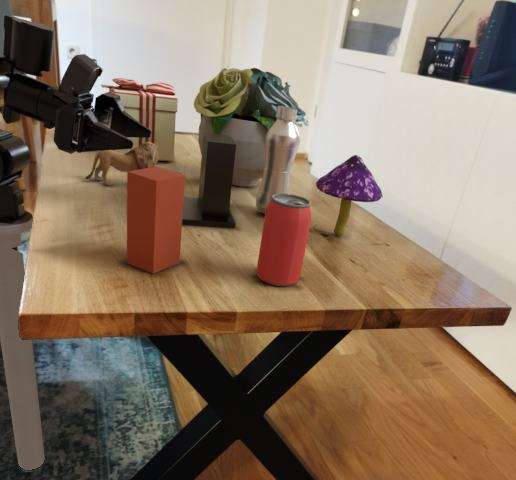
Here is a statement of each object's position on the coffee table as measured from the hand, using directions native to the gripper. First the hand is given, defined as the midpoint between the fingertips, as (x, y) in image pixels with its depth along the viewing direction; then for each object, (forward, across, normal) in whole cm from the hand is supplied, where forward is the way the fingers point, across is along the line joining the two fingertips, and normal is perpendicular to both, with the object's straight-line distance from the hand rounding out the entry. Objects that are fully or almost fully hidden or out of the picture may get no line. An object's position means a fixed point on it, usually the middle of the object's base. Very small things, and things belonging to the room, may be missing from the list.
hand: (142, 139), depth 80 cm
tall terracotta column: (+9, -15, +12) cm, 21 cm away
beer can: (+27, -13, +9) cm, 31 cm away
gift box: (-14, +52, +19) cm, 58 cm away
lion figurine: (-8, +22, +17) cm, 29 cm away
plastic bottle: (+23, +19, +11) cm, 32 cm away
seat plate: (+8, +10, +13) cm, 18 cm away
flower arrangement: (+14, +40, +13) cm, 44 cm away
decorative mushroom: (+37, +13, +8) cm, 40 cm away
